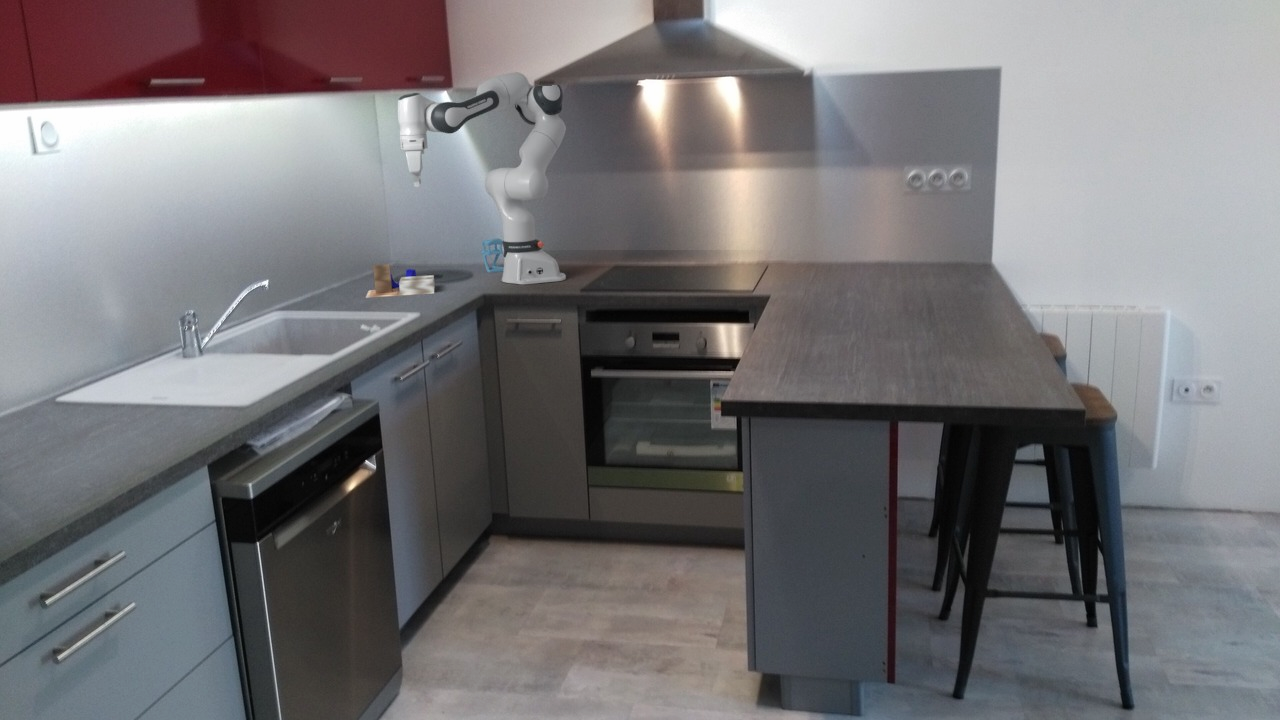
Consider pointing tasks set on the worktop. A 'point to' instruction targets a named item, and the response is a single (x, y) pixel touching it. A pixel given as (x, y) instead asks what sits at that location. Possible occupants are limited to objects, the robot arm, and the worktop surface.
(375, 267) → the plug
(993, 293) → the worktop surface
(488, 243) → the chair
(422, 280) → the board
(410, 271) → the cable clip
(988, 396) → the worktop surface
